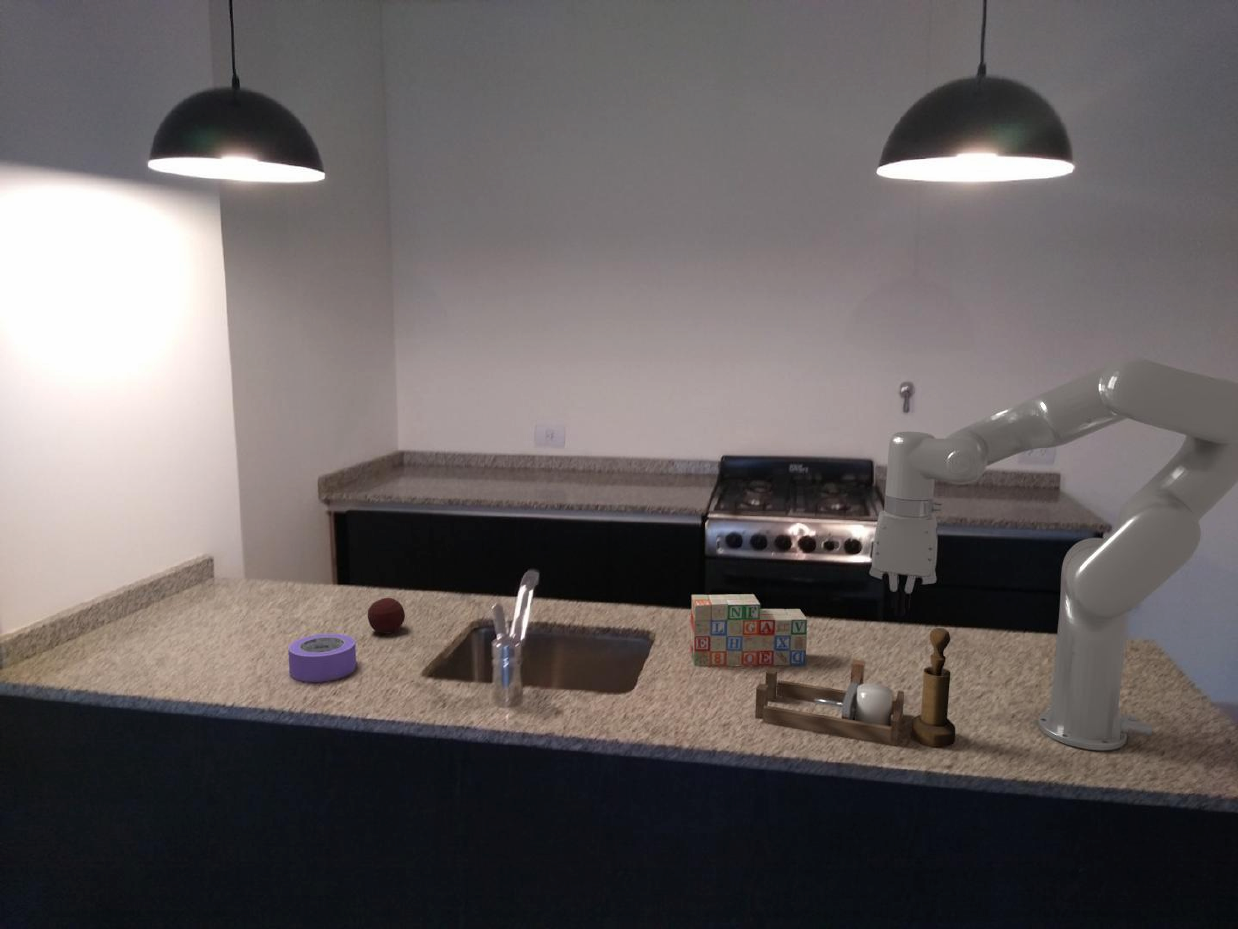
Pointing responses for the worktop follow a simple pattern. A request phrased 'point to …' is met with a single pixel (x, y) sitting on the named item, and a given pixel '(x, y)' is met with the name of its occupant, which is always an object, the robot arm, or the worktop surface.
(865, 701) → the white marshmallow
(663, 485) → the worktop surface
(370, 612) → the dark red ball
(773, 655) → the stack of blocks
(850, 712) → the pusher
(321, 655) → the tape roll
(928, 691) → the mortar and pestle
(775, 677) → the lane
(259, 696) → the worktop surface
